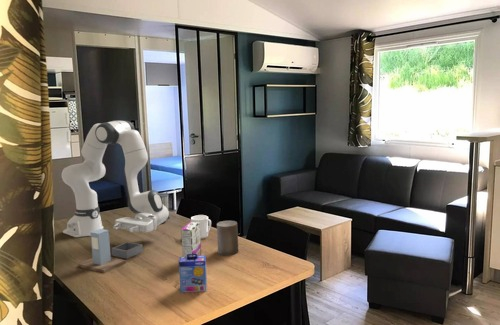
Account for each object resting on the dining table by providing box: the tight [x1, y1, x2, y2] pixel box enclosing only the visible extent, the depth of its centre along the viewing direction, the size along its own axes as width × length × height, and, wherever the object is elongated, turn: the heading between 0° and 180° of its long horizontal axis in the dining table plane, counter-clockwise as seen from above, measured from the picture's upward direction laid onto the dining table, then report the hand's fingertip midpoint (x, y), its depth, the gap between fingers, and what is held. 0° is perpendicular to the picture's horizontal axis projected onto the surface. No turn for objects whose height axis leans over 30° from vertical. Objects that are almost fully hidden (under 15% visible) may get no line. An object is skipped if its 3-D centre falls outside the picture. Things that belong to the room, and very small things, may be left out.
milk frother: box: [159, 192, 170, 223], centre depth 246 cm, size 14×16×15 cm
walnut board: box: [78, 256, 127, 274], centre depth 179 cm, size 16×12×1 cm
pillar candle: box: [216, 220, 240, 256], centre depth 190 cm, size 10×10×15 cm
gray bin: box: [111, 241, 144, 260], centre depth 192 cm, size 10×10×4 cm
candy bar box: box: [180, 221, 202, 257], centre depth 179 cm, size 11×5×16 cm, turn 168°
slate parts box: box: [90, 228, 112, 265], centre depth 178 cm, size 5×6×14 cm
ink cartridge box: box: [178, 254, 208, 293], centre depth 152 cm, size 10×6×14 cm, turn 95°
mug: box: [190, 214, 212, 240], centre depth 213 cm, size 11×9×10 cm
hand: (121, 229), depth 188 cm, fingers open, 8 cm apart
